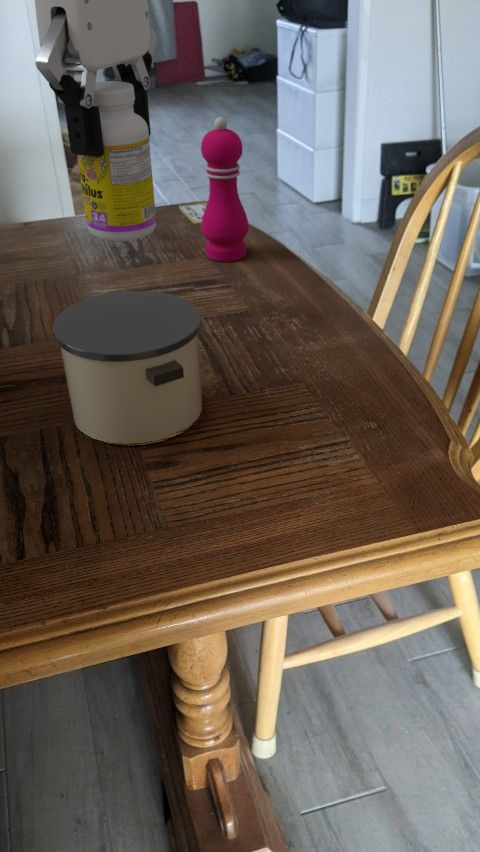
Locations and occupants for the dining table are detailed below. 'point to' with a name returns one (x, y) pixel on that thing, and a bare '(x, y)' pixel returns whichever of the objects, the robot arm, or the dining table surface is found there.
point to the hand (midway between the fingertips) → (112, 143)
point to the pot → (131, 365)
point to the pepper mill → (223, 195)
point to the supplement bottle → (119, 169)
